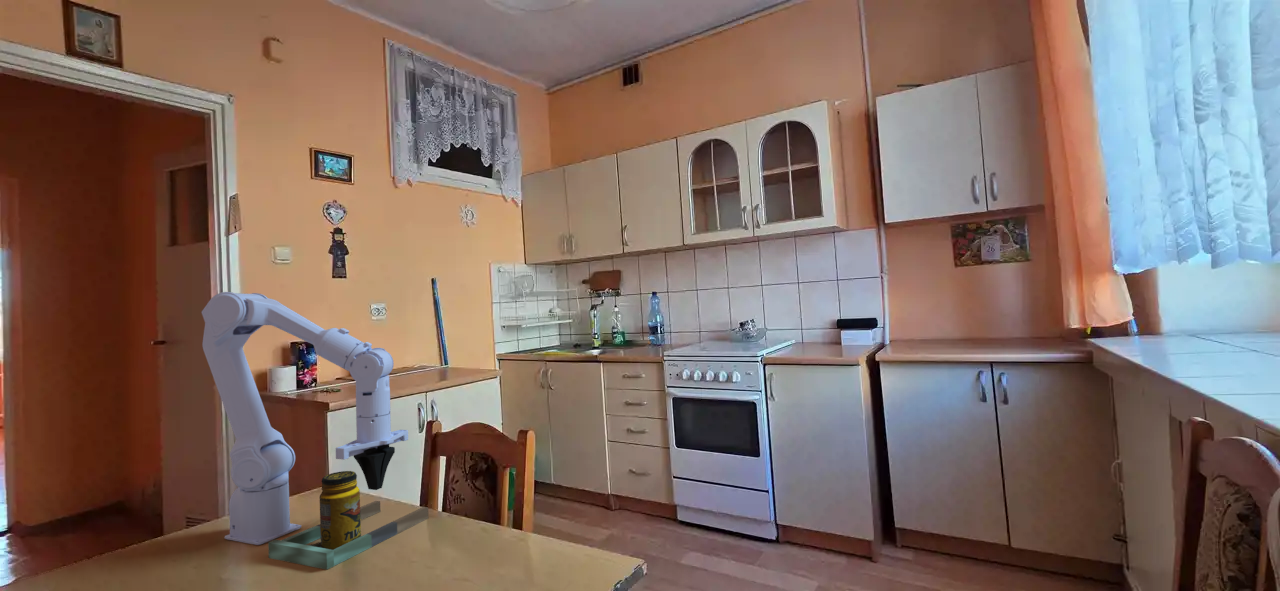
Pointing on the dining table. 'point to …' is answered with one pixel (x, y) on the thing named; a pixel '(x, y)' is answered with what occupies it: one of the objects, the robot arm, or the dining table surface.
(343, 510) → the condiment
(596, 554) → the dining table surface
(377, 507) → the u-shaped frame
